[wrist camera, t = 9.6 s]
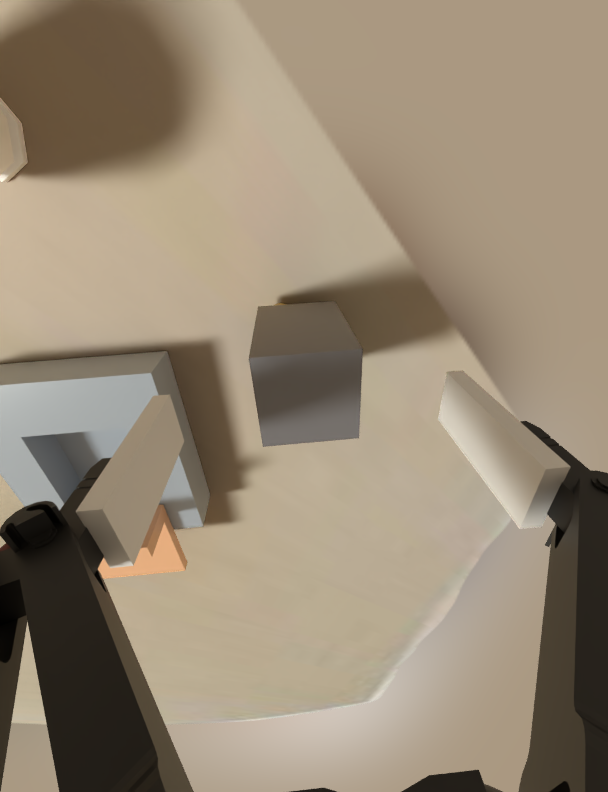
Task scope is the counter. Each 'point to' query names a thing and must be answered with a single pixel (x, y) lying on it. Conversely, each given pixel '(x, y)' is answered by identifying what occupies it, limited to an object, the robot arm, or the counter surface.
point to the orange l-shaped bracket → (153, 551)
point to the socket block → (89, 427)
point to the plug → (305, 374)
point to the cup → (11, 144)
